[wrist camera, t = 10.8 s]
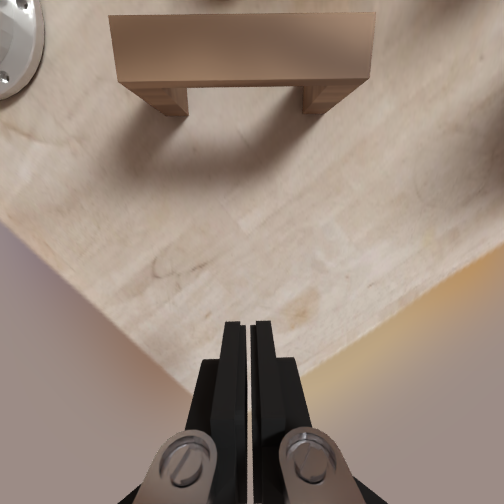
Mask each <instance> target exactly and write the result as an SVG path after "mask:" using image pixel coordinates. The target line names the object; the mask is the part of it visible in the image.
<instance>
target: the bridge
mask: <svg viewBox="0 0 504 504" xmlns="http://www.w3.org/2000/svg"><path fill="white" fill-rule="evenodd" d="M108 18H109V24H110V31H111V38H112V45H113V52H114V59H115V65H116V72H117V79H118V82H119V83H120V84H122V85H123V86H125V87H126V88H127V89H129V90H130V91H132V92H133V93H134V94H136V95H137V96H139V97H140V98H141V99H143V100H144V101H146V102H147V103H148V104H150V105H151V106H153V107H154V108H155V109H157V110H158V111H160V112H161V113H163V114H164V115H165V116H189V112H188V100H187V88H206V87H274V86H303V109H302V114H323V113H326V112H327V111H329V110H330V109H331V108H332V107H334V106H335V105H336V104H337V103H339V102H340V101H341V100H343V99H344V98H345V97H346V96H348V95H349V94H350V93H351V92H353V91H354V90H355V89H356V88H358V87H359V86H360V85H361V84H363V83H364V82H365V81H366V80H368V79H369V78H370V68H371V58H372V48H373V38H374V28H375V18H376V12H356V13H272V14H189V15H108Z"/></svg>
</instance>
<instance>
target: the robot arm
mask: <svg viewBox="0 0 504 504" xmlns="http://www.w3.org/2000/svg"><path fill="white" fill-rule="evenodd" d="M43 45H44V21H43V15H42V9H41V4H40V1H39V0H0V100H2V99H6V98H8V97H10V96H12V95H14V94H16V93H18V92H19V91H20V90H21V89H22V88H23V87H24V86H26V85H27V84H28V82H29V81H30V80H31V78H32V77H33V75H34V74H35V72H36V70H37V67H38V65H39V62H40V60H41V56H42V51H43ZM250 333H251V400H252V448H253V449H252V451H253V496H254V504H388V503H387V502H385V501H384V500H383V499H381V498H380V497H379V496H378V495H376V494H375V493H374V492H373V491H371V490H370V489H369V488H368V487H366V486H365V485H364V484H363V483H361V482H360V481H358V480H357V479H356V478H355V477H353V476H352V474H351V472H350V470H349V468H348V465H347V463H346V461H345V459H344V457H343V455H342V453H341V451H340V449H339V448H338V446H337V445H336V443H335V442H334V441H333V440H332V439H331V438H330V437H329V436H328V435H327V434H325V433H324V432H322V431H320V430H318V429H315V428H312V425H311V421H310V417H309V413H308V409H307V405H306V401H305V397H304V393H303V389H302V385H301V381H300V377H299V373H298V369H297V365H296V361H295V359H294V357H285V358H276V353H275V347H274V340H273V334H272V327H271V321H256V325H250ZM118 504H247V352H246V325H240V321H235V322H225V327H224V333H223V340H222V346H221V353H220V359H203V360H202V363H201V367H200V371H199V375H198V379H197V383H196V387H195V391H194V395H193V399H192V403H191V407H190V411H189V415H188V419H187V423H186V427H185V431H182V432H179V433H177V434H175V435H174V436H172V437H170V438H169V439H168V440H167V441H166V442H165V443H164V444H163V445H162V446H161V447H160V449H159V450H158V452H157V454H156V455H155V457H154V459H153V461H152V463H151V465H150V468H149V470H148V472H147V474H146V476H145V478H144V480H143V482H142V484H140V485H139V486H138V487H137V488H136V489H134V490H133V491H132V492H131V493H130V494H129V495H127V496H126V497H125V498H124V499H123V500H121V501H120V502H119V503H118Z"/></svg>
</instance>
